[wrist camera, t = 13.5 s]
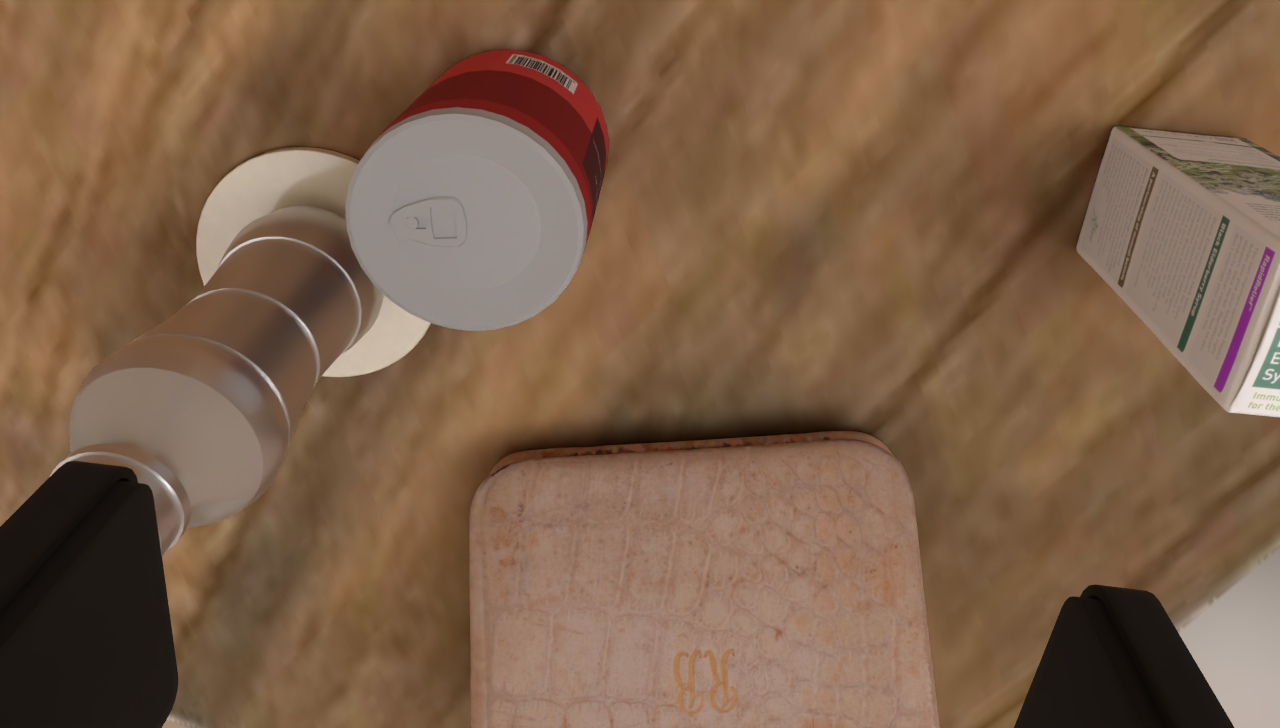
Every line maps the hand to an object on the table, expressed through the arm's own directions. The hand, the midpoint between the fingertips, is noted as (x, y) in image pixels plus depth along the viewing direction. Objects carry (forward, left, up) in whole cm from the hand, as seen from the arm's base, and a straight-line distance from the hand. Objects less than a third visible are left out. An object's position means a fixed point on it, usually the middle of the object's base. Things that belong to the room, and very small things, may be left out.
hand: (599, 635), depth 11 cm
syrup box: (+4, +21, -34) cm, 41 cm away
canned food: (+5, -6, -34) cm, 35 cm away
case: (+28, +5, -34) cm, 45 cm away
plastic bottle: (+12, -14, -34) cm, 39 cm away
